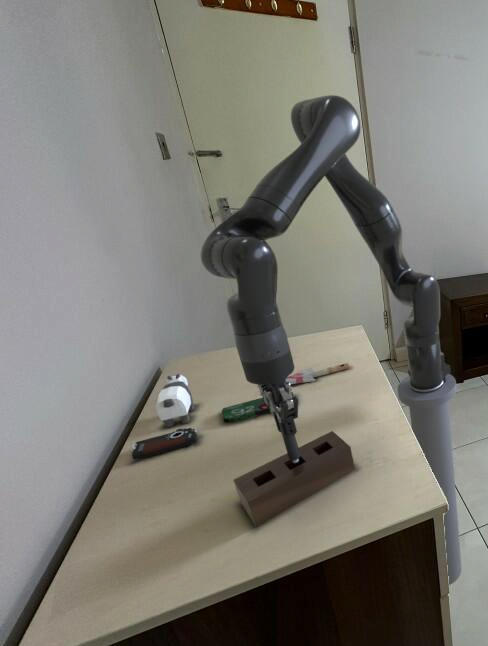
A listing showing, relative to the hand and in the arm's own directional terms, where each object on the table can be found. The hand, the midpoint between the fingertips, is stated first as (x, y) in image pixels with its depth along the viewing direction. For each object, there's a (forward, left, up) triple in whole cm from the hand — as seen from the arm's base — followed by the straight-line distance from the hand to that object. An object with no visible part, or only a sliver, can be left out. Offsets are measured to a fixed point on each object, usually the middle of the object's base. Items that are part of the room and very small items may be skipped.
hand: (287, 431), depth 75 cm
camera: (+15, -36, -13) cm, 41 cm away
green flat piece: (-4, -35, -13) cm, 38 cm away
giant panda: (+10, -49, -13) cm, 52 cm away
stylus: (0, 0, -7) cm, 7 cm away
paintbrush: (-21, -41, -13) cm, 48 cm away
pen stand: (0, 0, -13) cm, 13 cm away
